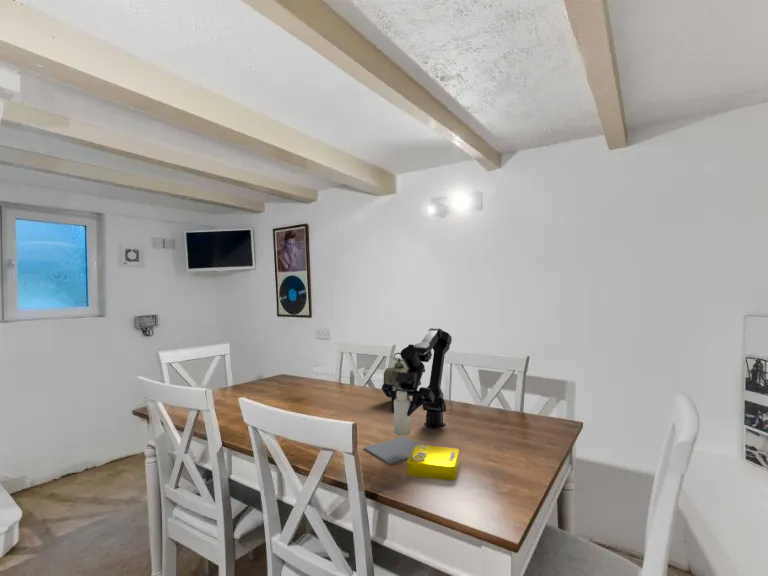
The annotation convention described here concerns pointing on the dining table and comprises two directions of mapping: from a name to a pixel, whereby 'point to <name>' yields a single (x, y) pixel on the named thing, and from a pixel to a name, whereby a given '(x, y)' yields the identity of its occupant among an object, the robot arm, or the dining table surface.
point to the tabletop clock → (395, 373)
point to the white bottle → (401, 414)
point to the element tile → (434, 462)
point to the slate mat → (393, 449)
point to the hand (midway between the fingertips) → (400, 414)
